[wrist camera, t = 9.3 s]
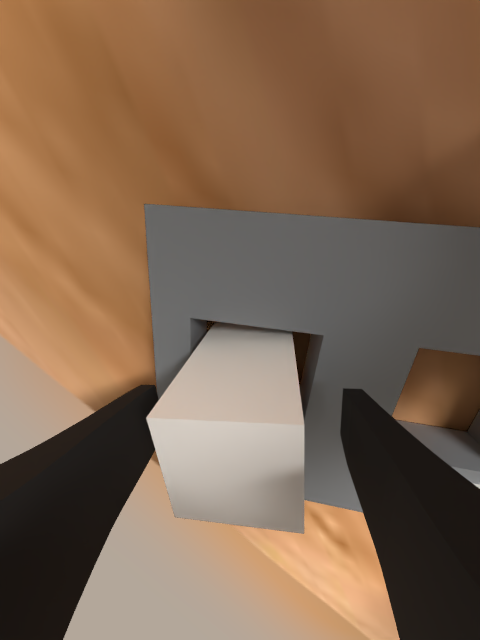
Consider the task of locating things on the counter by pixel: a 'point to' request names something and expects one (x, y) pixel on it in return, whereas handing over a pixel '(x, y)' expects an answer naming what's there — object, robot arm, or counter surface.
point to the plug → (234, 431)
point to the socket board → (322, 312)
